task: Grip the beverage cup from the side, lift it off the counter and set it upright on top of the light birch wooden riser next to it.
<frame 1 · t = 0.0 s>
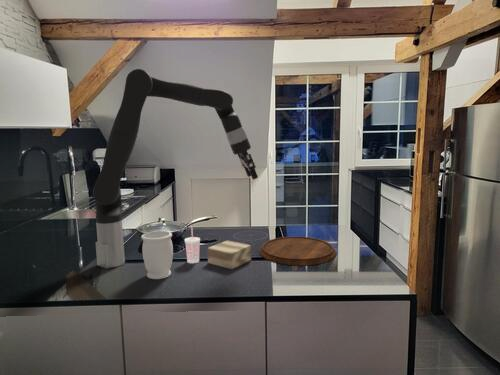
hand: (252, 177, 153), 31 cm above the table, tool tilted 20°, fingers open, 8 cm apart
beverage cup: (193, 261, 147), on the table
jar: (159, 275, 133), on the table
wooden riser: (229, 261, 146), on the table
cutting board: (297, 253, 156), on the table
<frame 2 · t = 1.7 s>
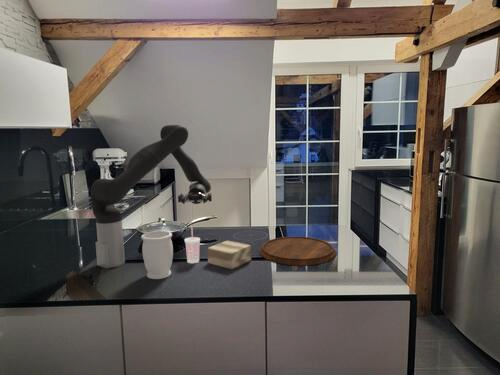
hand: (193, 201, 154), 22 cm above the table, tool horizontal, fingers open, 8 cm apart
nothing on the table moved.
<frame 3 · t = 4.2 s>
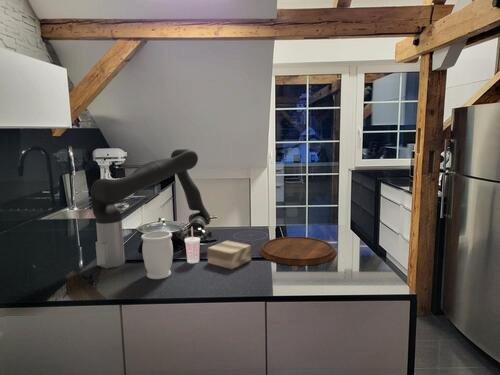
hand: (193, 238, 151), 7 cm above the table, tool horizontal, fingers open, 8 cm apart
nothing on the table moved.
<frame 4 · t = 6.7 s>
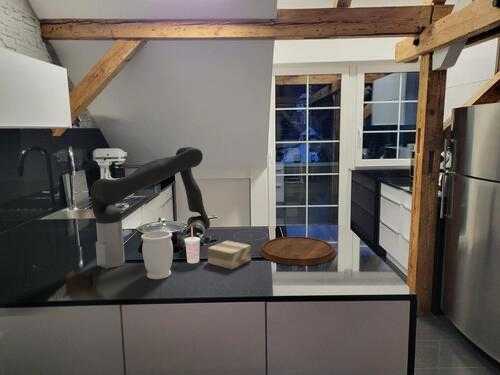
hand: (191, 244, 143), 8 cm above the table, tool horizontal, fingers closed on beverage cup, 6 cm apart
beverage cup: (193, 261, 147), on the table, touching gripper
everything else where it was.
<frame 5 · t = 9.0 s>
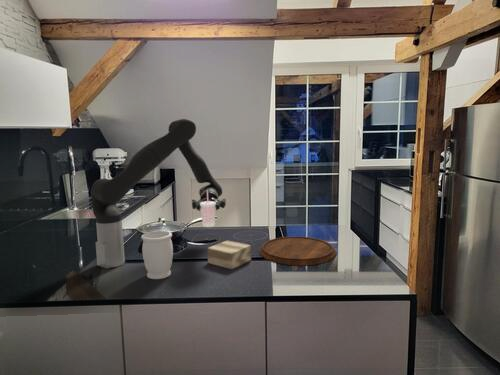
hand: (207, 207, 141), 22 cm above the table, tool horizontal, fingers closed on beverage cup, 6 cm apart
beverage cup: (208, 225, 145), point 14 cm above the table, touching gripper
everything else where it was.
when the fingers open (15 cm above the table, at t = 11.8 s): beverage cup drops 1 cm, resting on wooden riser.
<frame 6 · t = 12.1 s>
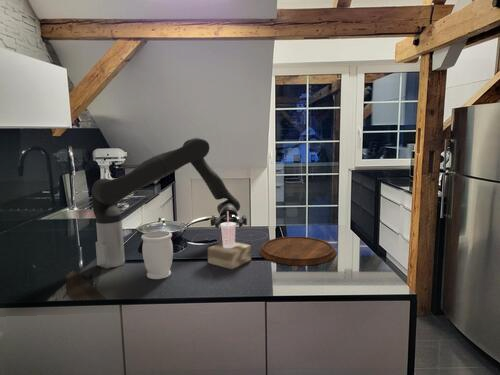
hand: (228, 225, 142), 15 cm above the table, tool horizontal, fingers open, 8 cm apart
beverage cup: (228, 246, 145), point 6 cm above the table, touching wooden riser
everything else where it was.
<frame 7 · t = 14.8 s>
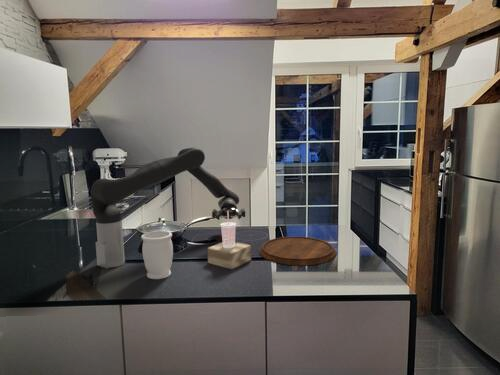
hand: (228, 217, 154), 15 cm above the table, tool horizontal, fingers open, 8 cm apart
nothing on the table moved.
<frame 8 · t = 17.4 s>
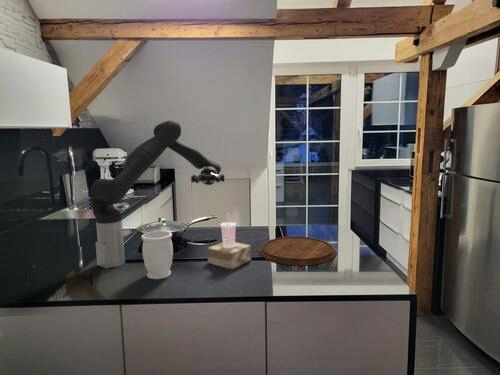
hand: (207, 180, 156), 30 cm above the table, tool horizontal, fingers open, 8 cm apart
nothing on the table moved.
at the end: beverage cup inside the target area on the wooden riser (0.3 cm from its centre), point 5.8 cm above the wooden riser's base; beverage cup tilted 0°; the gripper is holding nothing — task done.
